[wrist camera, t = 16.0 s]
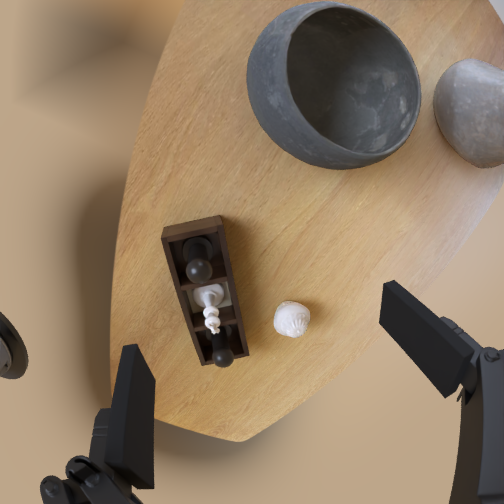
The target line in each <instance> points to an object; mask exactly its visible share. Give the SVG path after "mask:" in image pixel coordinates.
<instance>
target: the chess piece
mask: <svg viewBox="0 0 504 504" xmlns="http://www.w3.org/2000/svg"><path fill="white" fill-rule="evenodd" d="M192 296H193V299H194V301H195V302H196V303H197V304H198V305H199V306H201V307H204V308H205V309H204V311H203V314H204V316H205V317H206V320H205V325H206V327H207V328H209V329H211V332H212V333H213V334H215V333H219V332H220V329H218V328H217V327H219V325H220V319H219V318H218V317H217V316H218V314H219V310H218V309H217V308H216V307H215V306H217V305H218V304H220V303H221V301H222V300H223V297H224V288H223V286H222V284H221V283H218V284H213V285H208V286H204V287H199V288H195V289H193V290H192Z"/></svg>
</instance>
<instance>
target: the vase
mask: <svg viewBox="0 0 504 504" xmlns="http://www.w3.org/2000/svg"><path fill="white" fill-rule="evenodd" d="M433 107H434V112H435V116H436V120H437V123H438V126H439V128H440V130H441V132H442V133H443V135H444V137H445V138H446V140H447V141H448V143H449V144H450V145H451V146H452V147H453V148H454V150H455V151H456V152H457V153H458V154H459V155H460V156H461V157H462V158H463V159H465V160H466V161H468V162H470V163H471V164H472V165H474V166H476V167H478V168H492V167H495V166H498V165H500V164H504V70H502V69H499V68H497V67H495V66H493V65H491V64H488V63H486V62H483V61H480V60H477V59H465V60H461V61H458V62H456V63H454V64H453V65H451V66H450V67H449V68H448V69H447V70H446V71H445V72H444V73H443V75H442V76H441V77H440V79H439V81H438V83H437V85H436V88H435V93H434V99H433Z"/></svg>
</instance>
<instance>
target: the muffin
mask: <svg viewBox="0 0 504 504" xmlns="http://www.w3.org/2000/svg"><path fill="white" fill-rule="evenodd" d="M274 316H275V317H274V328H275V329H276V331H277V332H278V333H280V334H282V335H285V336H290V337H293V338H296V337H300V336H302V335H303V334H305V331H307V329H306V328H307V327H308V324H309V322H310V312H309V310H308V309H307V308H306V307H305V306H304V305H302V304H300V303H297V302H293V301H284V302H282V303H281V304H280V305H279V306H278V307H277V310H276V313H275V315H274Z"/></svg>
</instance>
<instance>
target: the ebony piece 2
mask: <svg viewBox="0 0 504 504" xmlns="http://www.w3.org/2000/svg"><path fill="white" fill-rule="evenodd" d="M217 328H218V329H220V332H219V333H215V334H213V333H212V332H211V329H207V330H205V335H206V337H207V339H208V340H210V341H212V346H213V354H212V359H213V362H214V363H215V364H216V365H217V366H218V367H222V368H225V367H228V366H230V365H231V364H232V362H233V360H234V354H233V352H232V351H231V350H230V346H229V341H228V339H229V338H230V336H231V334H232V329H231V325H225V326H221V327H217Z"/></svg>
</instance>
